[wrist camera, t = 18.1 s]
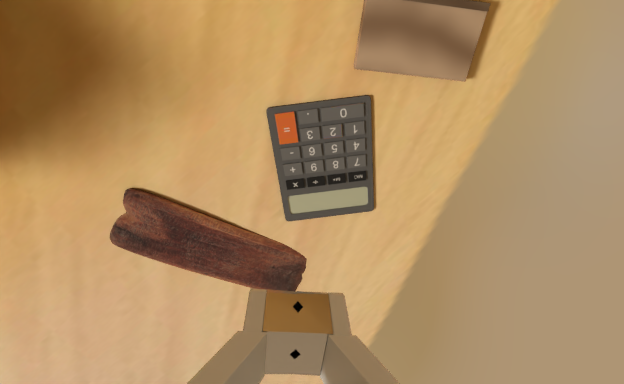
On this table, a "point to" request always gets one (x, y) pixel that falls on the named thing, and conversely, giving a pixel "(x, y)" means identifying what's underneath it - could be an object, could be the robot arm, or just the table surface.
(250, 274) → the wooden tablet
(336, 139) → the calculator
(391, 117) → the table surface
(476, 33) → the laid board
